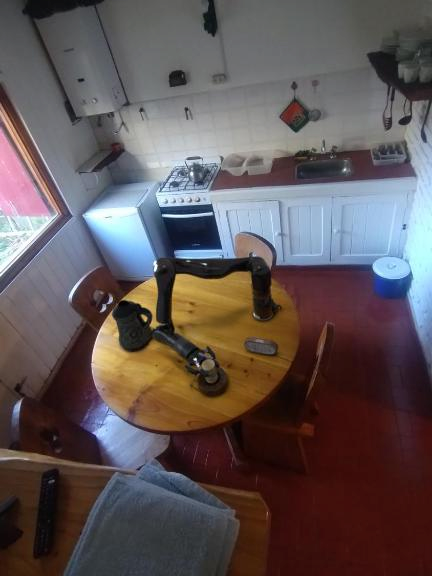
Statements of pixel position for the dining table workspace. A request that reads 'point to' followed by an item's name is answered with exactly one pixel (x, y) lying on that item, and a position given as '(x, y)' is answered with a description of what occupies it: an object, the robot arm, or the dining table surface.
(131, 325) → the beer stein
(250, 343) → the tin
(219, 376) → the stand
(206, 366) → the disc stack
